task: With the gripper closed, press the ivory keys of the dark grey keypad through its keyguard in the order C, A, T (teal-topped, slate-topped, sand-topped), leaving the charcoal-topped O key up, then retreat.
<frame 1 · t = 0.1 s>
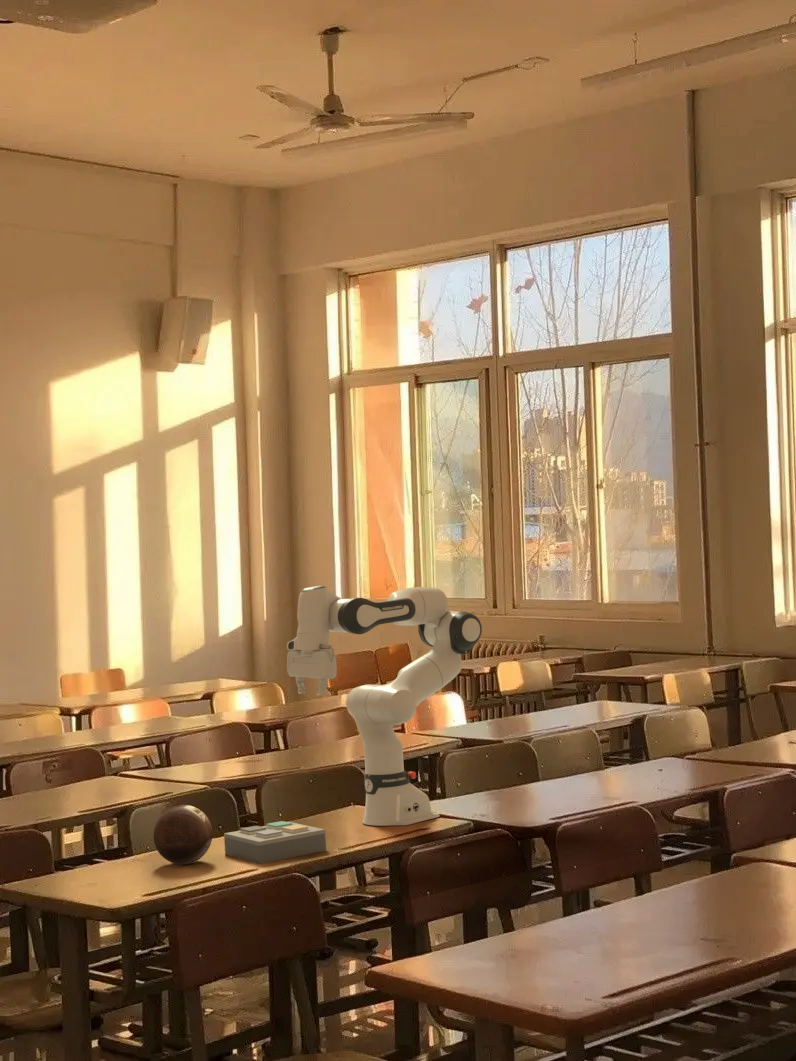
hand: (311, 694, 414), 39 cm above the table, tool pointing down, fingers open, 8 cm apart
key T: (295, 832, 392), point 5 cm above the table, slide at 0.0 cm
wooden sphere: (184, 864, 385), on the table
key A: (269, 837, 387), point 5 cm above the table, slide at 0.0 cm
key O: (253, 833, 394), point 5 cm above the table, slide at 0.0 cm
key C: (279, 829, 398), point 5 cm above the table, slide at 0.0 cm
keypad: (275, 852, 393), on the table
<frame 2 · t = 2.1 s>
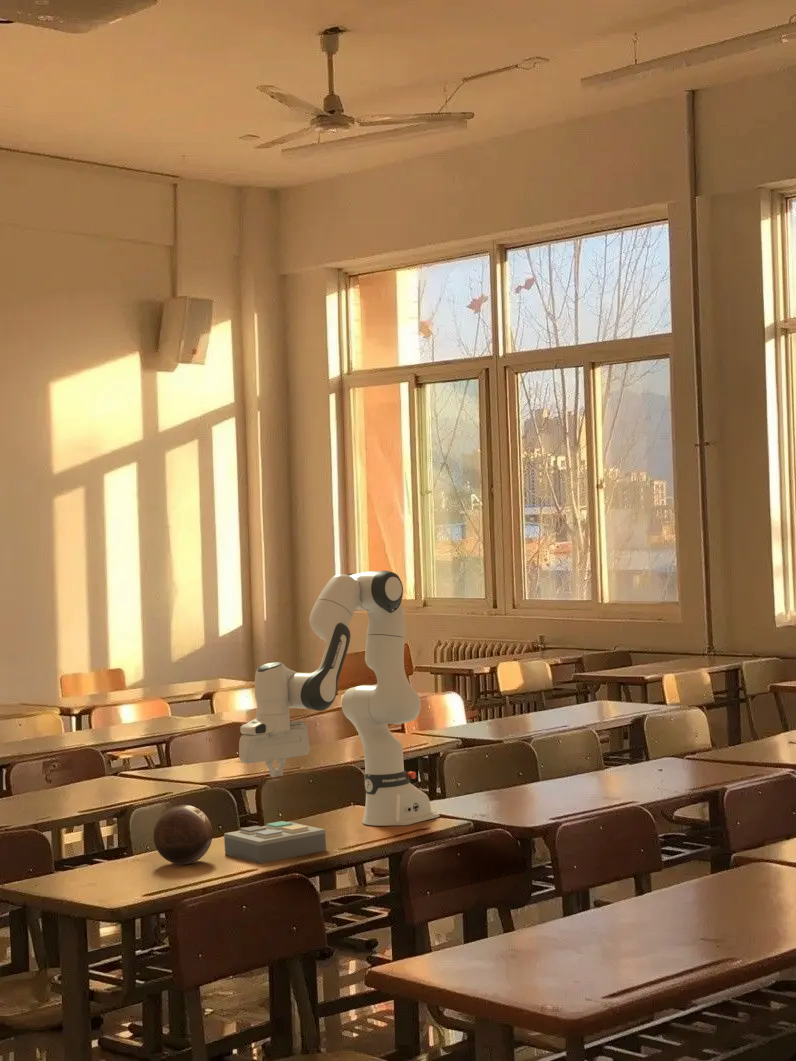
hand: (276, 776, 399), 19 cm above the table, tool pointing down, fingers closed
nothing on the table moved.
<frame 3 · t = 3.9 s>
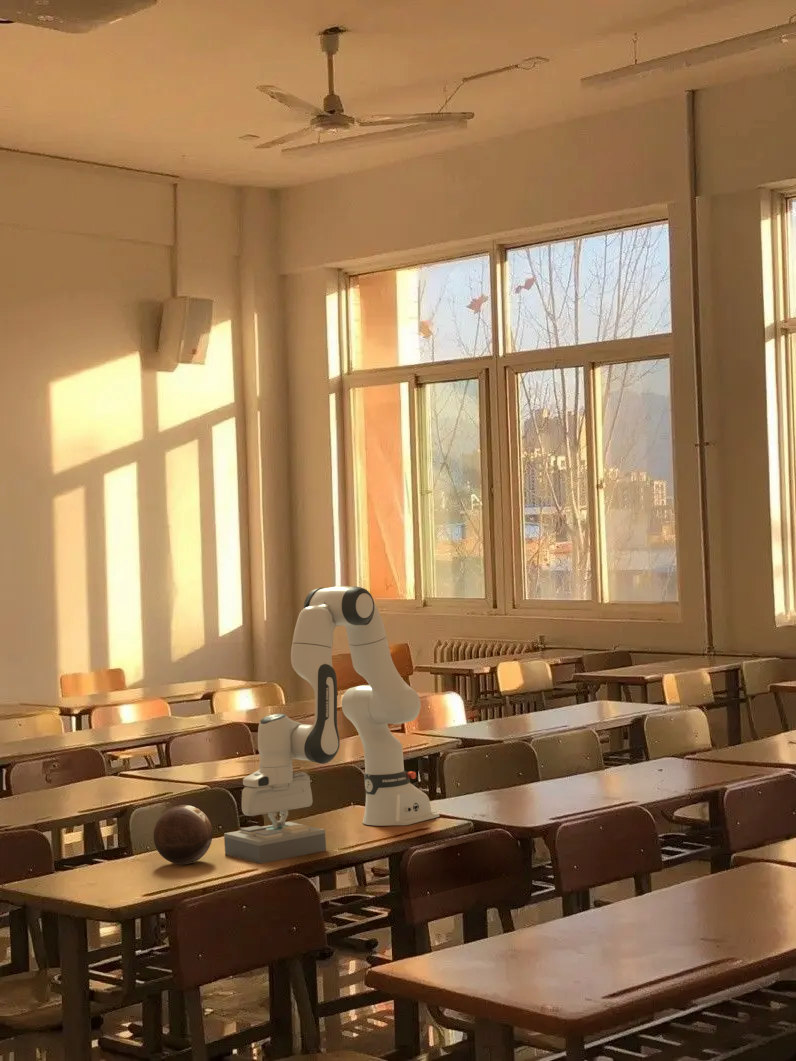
hand: (278, 828, 398), 5 cm above the table, tool pointing down, fingers closed, pressing on key C
key C: (279, 833, 398), point 4 cm above the table, slide at 1.3 cm, touching gripper
everything else where it was.
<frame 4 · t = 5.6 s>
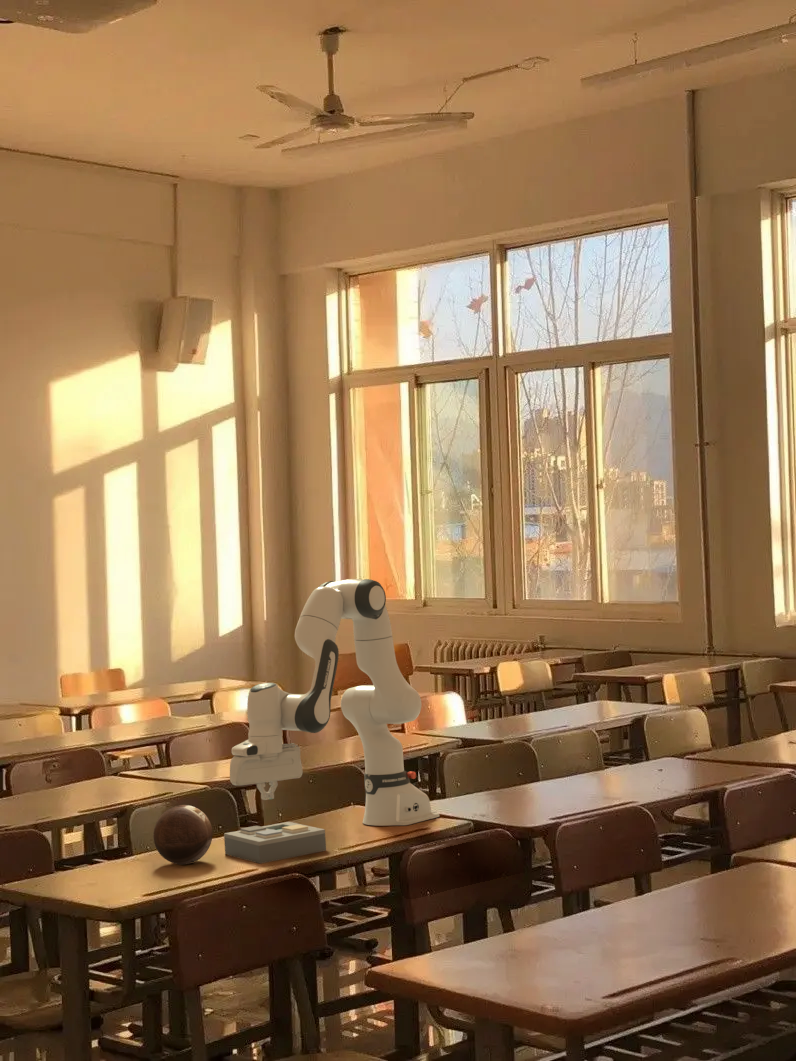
hand: (267, 799, 391), 14 cm above the table, tool pointing down, fingers closed
key C: (279, 836, 398), point 3 cm above the table, slide at 2.0 cm
everything else where it was.
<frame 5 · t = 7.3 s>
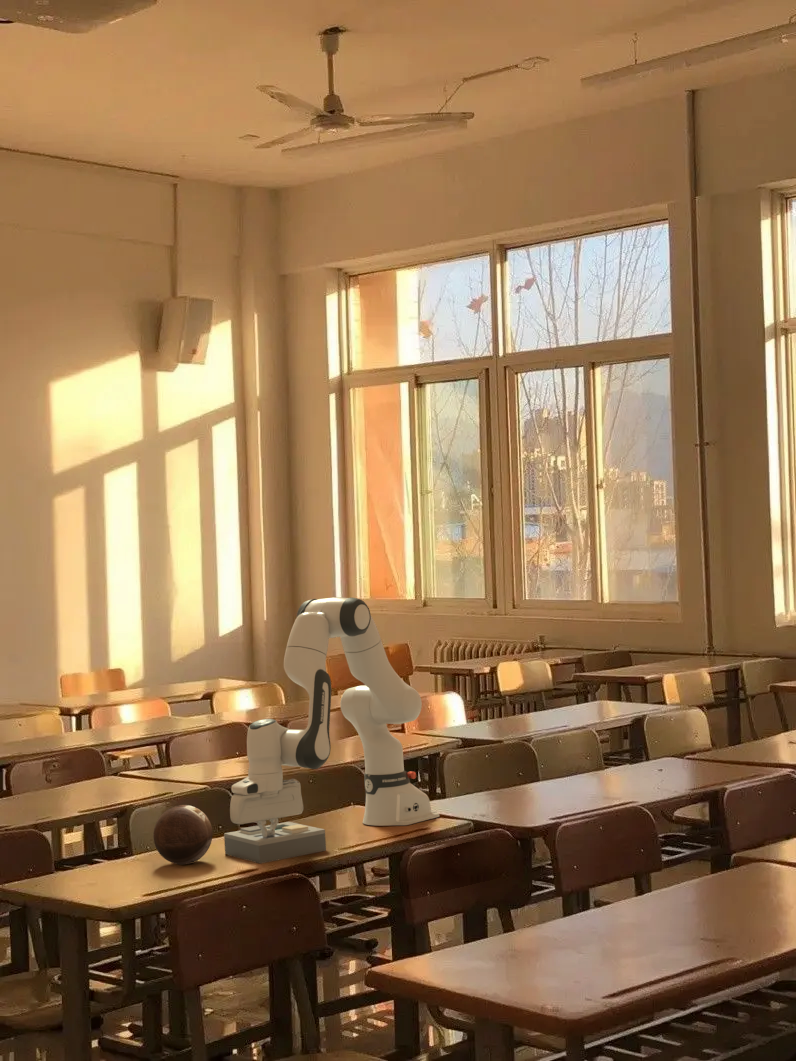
hand: (268, 836, 387), 5 cm above the table, tool pointing down, fingers closed, pressing on key A
key A: (269, 842, 387), point 4 cm above the table, slide at 1.3 cm, touching gripper
everything else where it was.
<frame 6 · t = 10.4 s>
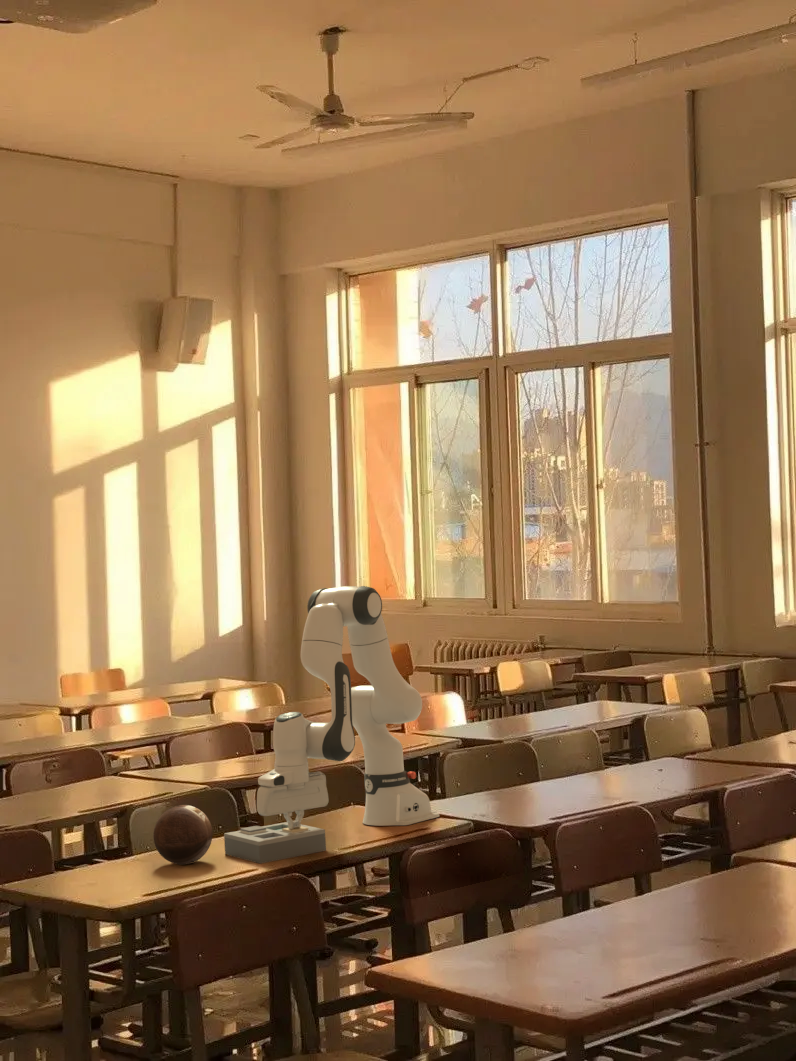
hand: (294, 828, 392), 6 cm above the table, tool pointing down, fingers closed
key T: (295, 834, 392), point 5 cm above the table, slide at 0.4 cm, touching gripper
key A: (269, 845, 387), point 3 cm above the table, slide at 2.0 cm
everything else where it was.
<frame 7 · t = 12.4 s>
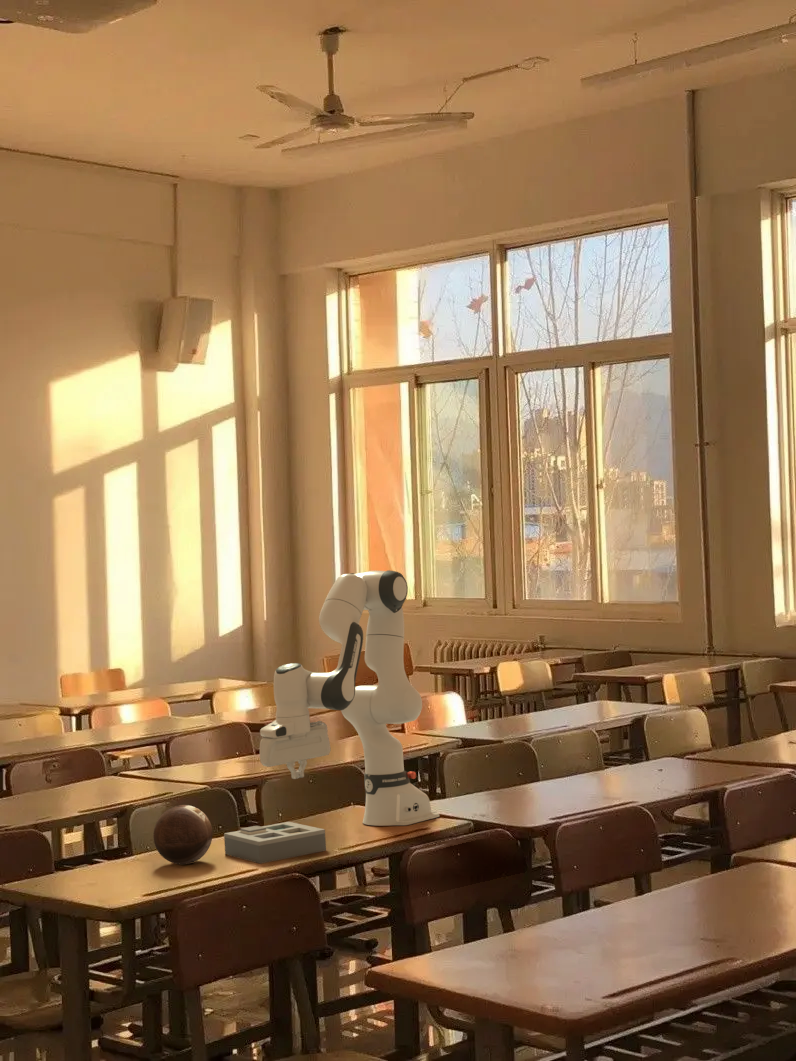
hand: (297, 777, 396), 19 cm above the table, tool pointing down, fingers closed
key T: (295, 840, 392), point 3 cm above the table, slide at 2.0 cm
everything else where it was.
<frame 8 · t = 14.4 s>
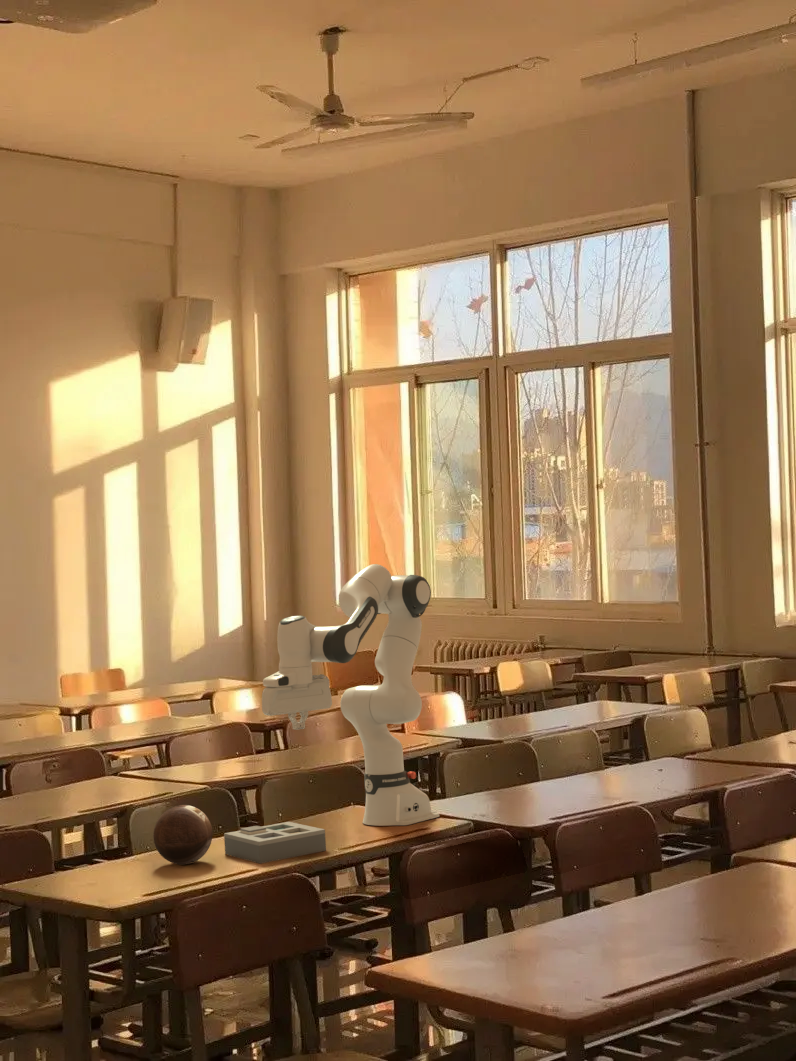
hand: (298, 729, 400), 31 cm above the table, tool pointing down, fingers closed
nothing on the table moved.
at the end: key C slide at 2.0 cm; key A slide at 2.0 cm; key T slide at 2.0 cm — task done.
